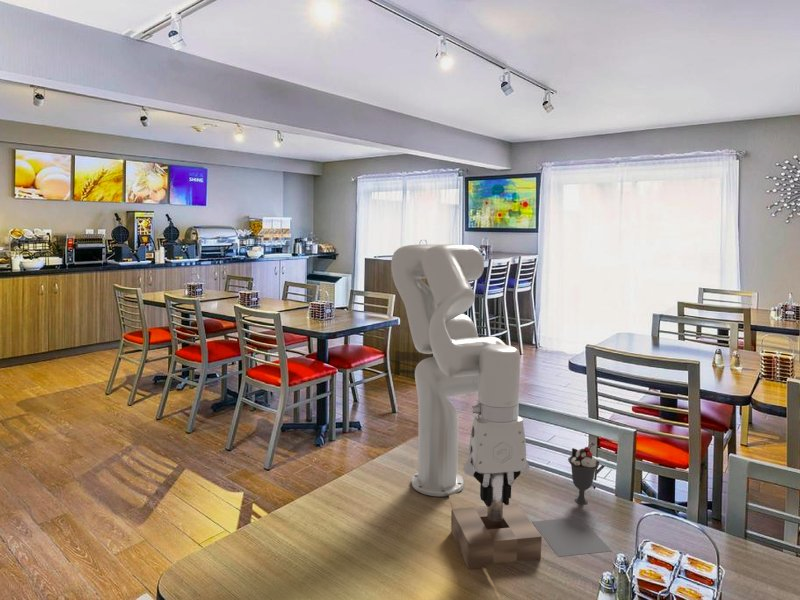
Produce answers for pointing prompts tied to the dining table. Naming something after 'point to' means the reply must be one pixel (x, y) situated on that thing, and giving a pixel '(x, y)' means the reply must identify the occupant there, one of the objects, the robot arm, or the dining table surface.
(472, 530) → the hole block
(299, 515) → the dining table surface
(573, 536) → the mat
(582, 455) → the sundae
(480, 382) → the robot arm
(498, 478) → the peg
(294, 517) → the dining table surface
